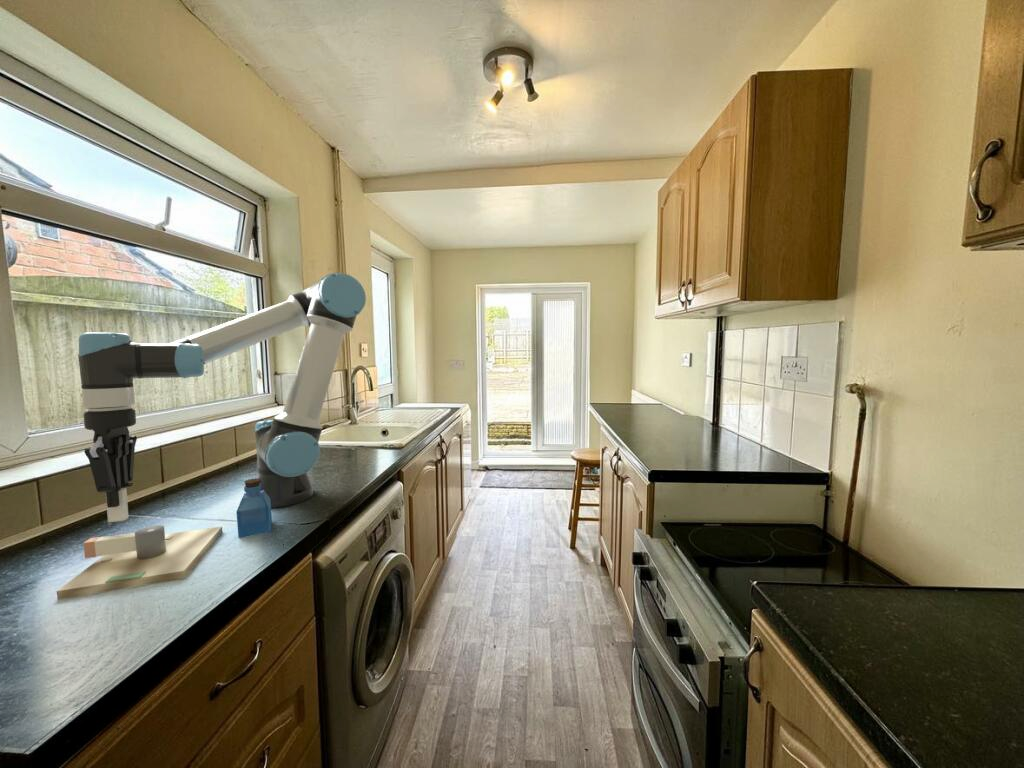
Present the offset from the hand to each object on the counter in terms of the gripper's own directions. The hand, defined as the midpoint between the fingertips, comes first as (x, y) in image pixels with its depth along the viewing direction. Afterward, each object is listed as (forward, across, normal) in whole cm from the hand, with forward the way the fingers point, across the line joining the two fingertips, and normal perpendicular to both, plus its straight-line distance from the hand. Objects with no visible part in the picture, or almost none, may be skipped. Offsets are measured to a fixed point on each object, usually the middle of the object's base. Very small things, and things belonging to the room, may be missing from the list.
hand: (118, 519), depth 84 cm
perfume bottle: (+7, -3, +24) cm, 25 cm away
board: (+7, +6, +8) cm, 12 cm away
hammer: (+6, +6, +4) cm, 10 cm away
